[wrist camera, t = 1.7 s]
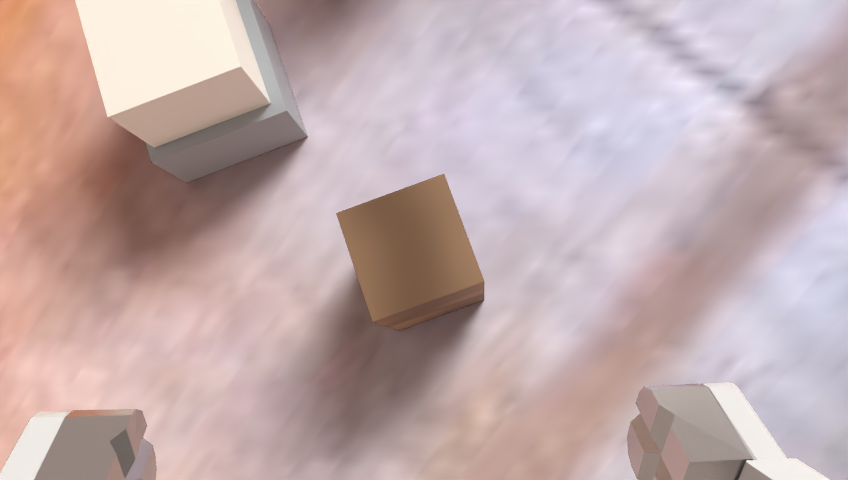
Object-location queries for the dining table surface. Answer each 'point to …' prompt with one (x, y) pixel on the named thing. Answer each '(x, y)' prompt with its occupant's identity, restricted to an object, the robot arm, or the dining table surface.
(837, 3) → the dining table surface
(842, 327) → the dining table surface
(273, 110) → the tower base
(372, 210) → the pillar
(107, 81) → the tower top
